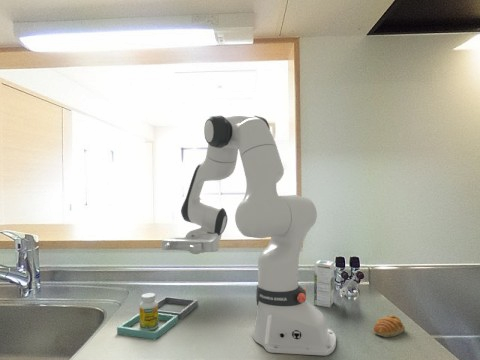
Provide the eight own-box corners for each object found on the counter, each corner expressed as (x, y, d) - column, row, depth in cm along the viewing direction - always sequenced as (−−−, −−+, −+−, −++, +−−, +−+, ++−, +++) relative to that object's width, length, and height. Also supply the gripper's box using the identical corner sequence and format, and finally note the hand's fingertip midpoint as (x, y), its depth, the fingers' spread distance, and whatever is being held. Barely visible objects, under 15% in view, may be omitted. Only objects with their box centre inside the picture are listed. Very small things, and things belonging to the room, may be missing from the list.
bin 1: (178, 321, 106) (177, 315, 106) (155, 339, 94) (155, 333, 94) (142, 316, 110) (142, 310, 110) (117, 333, 98) (117, 327, 98)
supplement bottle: (154, 321, 106) (154, 290, 106) (161, 328, 102) (160, 295, 102) (137, 326, 103) (136, 294, 103) (142, 332, 99) (142, 299, 99)
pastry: (390, 341, 92) (390, 327, 92) (367, 333, 98) (367, 320, 98) (406, 331, 98) (406, 318, 98) (383, 324, 104) (383, 311, 104)
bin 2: (197, 305, 120) (197, 300, 120) (180, 319, 108) (180, 313, 108) (165, 301, 124) (165, 296, 124) (145, 314, 112) (145, 309, 112)
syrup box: (317, 299, 124) (317, 259, 124) (334, 302, 121) (334, 261, 121) (313, 305, 119) (313, 263, 118) (331, 308, 116) (331, 265, 116)
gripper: (171, 232, 132) (151, 238, 118) (221, 233, 125) (206, 239, 112) (172, 249, 131) (152, 256, 118) (222, 250, 125) (206, 259, 112)
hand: (178, 248), depth 115 cm, fingers open, 8 cm apart
